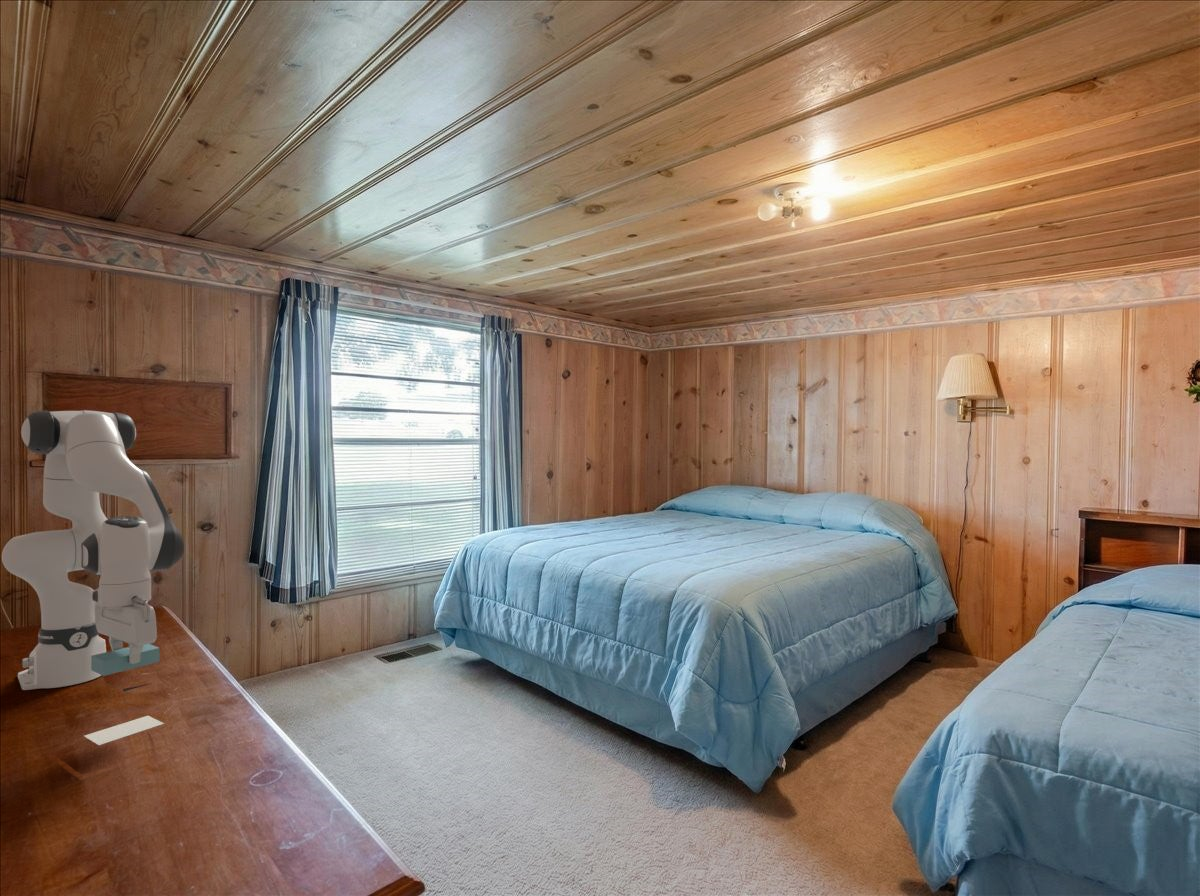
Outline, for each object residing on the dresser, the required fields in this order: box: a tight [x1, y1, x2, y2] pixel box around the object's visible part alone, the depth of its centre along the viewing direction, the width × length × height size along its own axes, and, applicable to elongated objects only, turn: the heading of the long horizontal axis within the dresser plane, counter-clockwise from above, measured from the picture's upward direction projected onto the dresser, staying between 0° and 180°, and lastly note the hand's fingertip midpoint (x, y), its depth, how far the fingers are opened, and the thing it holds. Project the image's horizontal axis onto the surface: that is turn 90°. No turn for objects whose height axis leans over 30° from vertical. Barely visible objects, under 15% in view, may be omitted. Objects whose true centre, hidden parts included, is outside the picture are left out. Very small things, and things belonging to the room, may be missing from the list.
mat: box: [83, 715, 165, 746], centre depth 136 cm, size 17×18×1 cm
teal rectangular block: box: [91, 643, 161, 677], centre depth 132 cm, size 10×6×3 cm, turn 148°
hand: (125, 659), depth 132 cm, fingers closed on teal rectangular block, 6 cm apart
